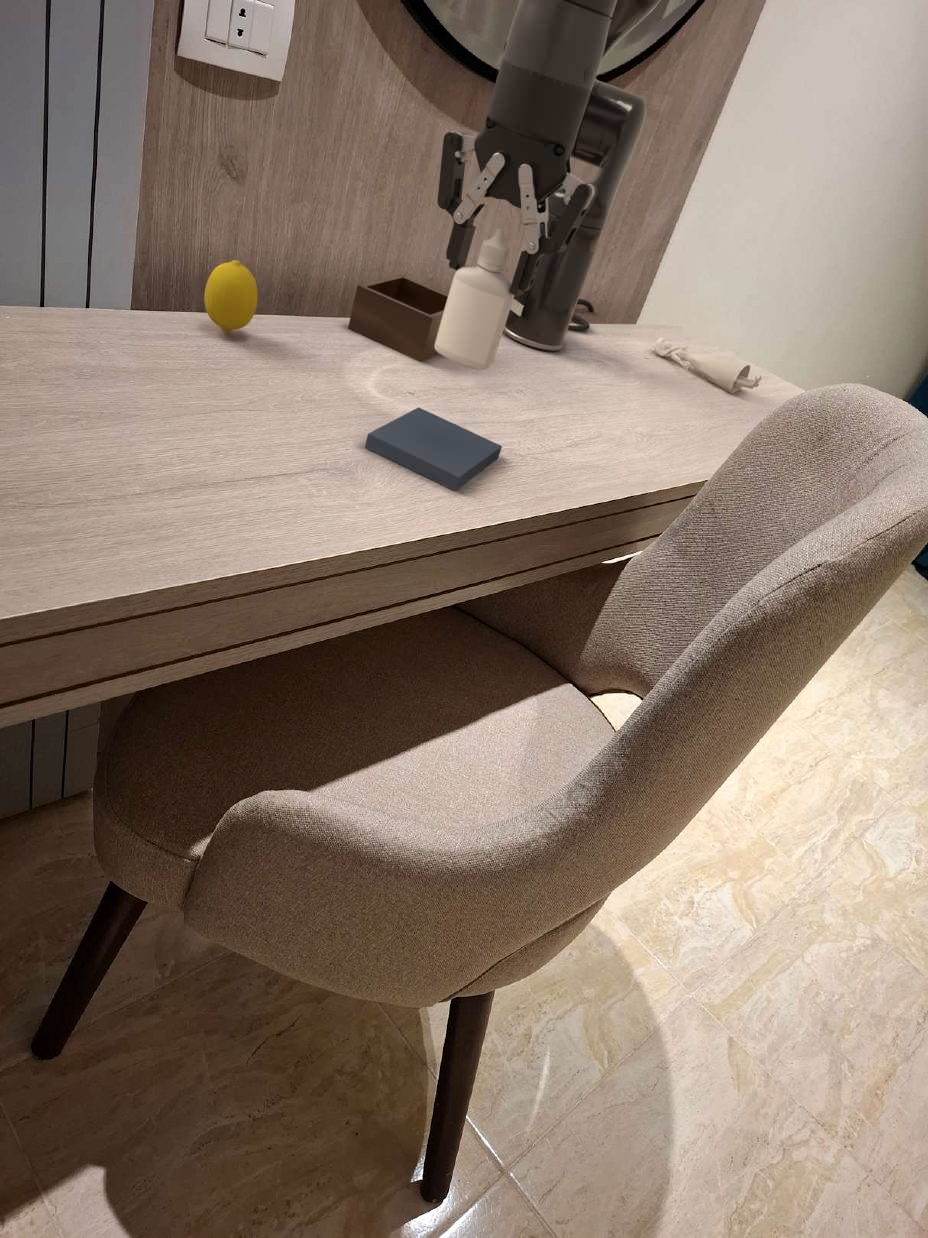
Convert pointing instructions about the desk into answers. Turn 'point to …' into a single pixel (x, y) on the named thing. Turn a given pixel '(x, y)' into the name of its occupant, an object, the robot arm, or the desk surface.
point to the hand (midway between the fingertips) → (485, 279)
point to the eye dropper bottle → (477, 308)
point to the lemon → (231, 296)
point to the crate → (399, 315)
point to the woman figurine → (710, 367)
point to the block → (434, 447)
